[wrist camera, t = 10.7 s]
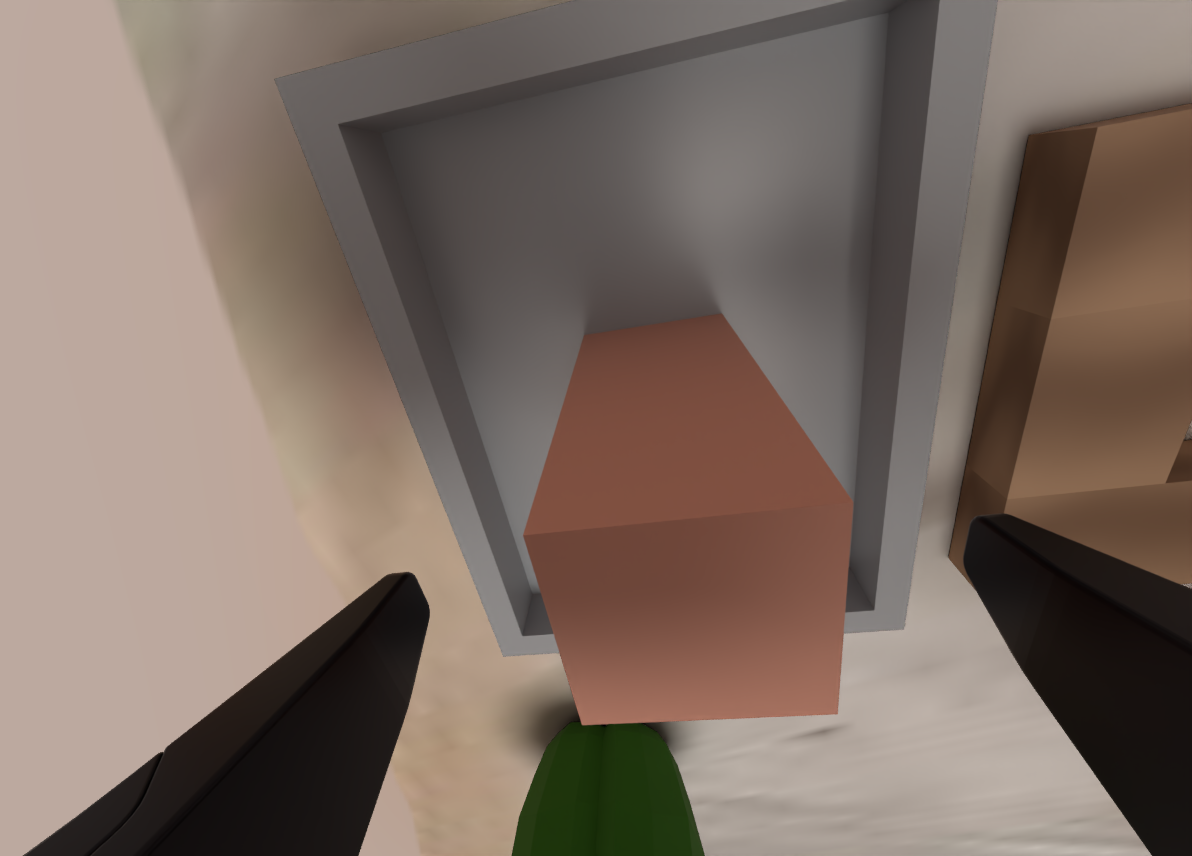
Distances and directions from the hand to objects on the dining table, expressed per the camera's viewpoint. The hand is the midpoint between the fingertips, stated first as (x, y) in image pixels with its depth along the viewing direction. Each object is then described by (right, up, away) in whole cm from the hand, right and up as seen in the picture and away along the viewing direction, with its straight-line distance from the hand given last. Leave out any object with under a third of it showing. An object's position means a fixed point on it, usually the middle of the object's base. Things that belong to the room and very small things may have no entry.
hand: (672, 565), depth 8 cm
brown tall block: (+1, +3, +7) cm, 8 cm away
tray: (+1, +4, +8) cm, 9 cm away
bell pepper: (-1, -14, +17) cm, 23 cm away
